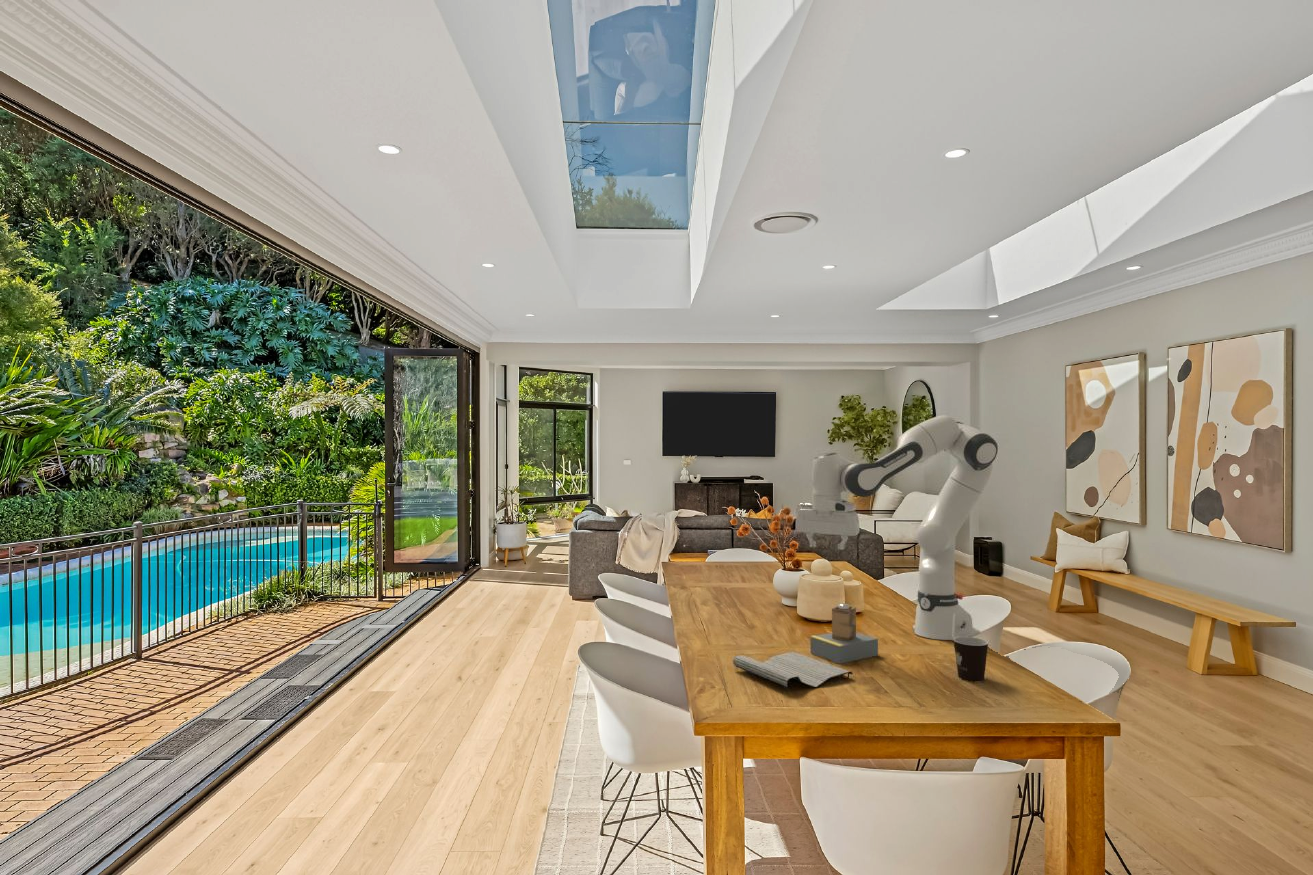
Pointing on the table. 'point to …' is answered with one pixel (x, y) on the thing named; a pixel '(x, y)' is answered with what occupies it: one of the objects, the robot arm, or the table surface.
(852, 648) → the block
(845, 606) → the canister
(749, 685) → the table surface
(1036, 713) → the table surface
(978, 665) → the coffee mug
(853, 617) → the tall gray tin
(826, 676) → the mat
